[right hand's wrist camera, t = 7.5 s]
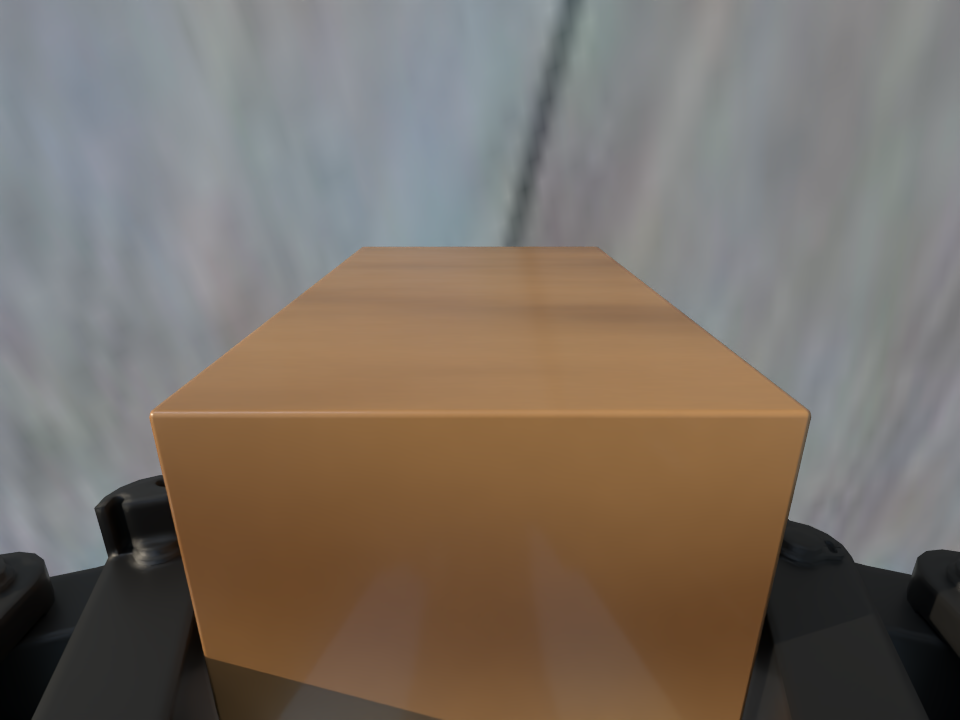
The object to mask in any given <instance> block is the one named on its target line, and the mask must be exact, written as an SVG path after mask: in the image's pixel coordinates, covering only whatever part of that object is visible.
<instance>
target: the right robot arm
mask: <svg viewBox="0 0 960 720" xmlns="http://www.w3.org/2000/svg"><path fill="white" fill-rule="evenodd" d="M95 512H96V515H97V519H98V522H99V526H100V529H101V533H102V536H103V540H104V543H105V547H106V550H107V554H108V559H107V562H106V564H105V565H104V566H100V567H97V568H92V569H87V570H82V571H77V572H73V573H68V574H63V575H58V576H53V577H49V574H48V571H47V568H46V565H45V562H44V560H43V559H42V558H41V557H39V556H38V555H36V554H35V553H25V552H15V553H8V554H1V555H0V720H219V717H218V713H217V709H216V704H215V700H214V696H213V691H212V687H211V683H210V678H209V674H208V670H207V665H206V661H205V657H204V652H203V648H202V643H201V639H200V635H199V630H198V626H197V622H196V617H195V613H194V609H193V604H192V600H191V596H190V591H189V587H188V583H187V578H186V574H185V570H184V565H183V561H182V557H181V552H180V548H179V544H178V539H177V535H176V530H175V526H174V522H173V517H172V513H171V509H170V504H169V500H168V496H167V491H166V487H165V483H164V478H163V475H159V476H154V477H150V478H146V479H141V480H138V481H135V482H133V483H130V484H128V485H125V486H123V487H120V488H119V489H117V490H115V491H114V492H112V493H111V494H109V495H107V496H106V497H104V498H103V499H102V500H101V502H100V503H99V504H98V505H97V506H96V507H95ZM742 720H960V552H956V551H949V550H932V551H926V552H924V553H923V554H922V555H920V556H919V557H918V558H917V561H916V564H915V567H914V570H913V573H912V575H910V574H905V573H900V572H895V571H890V570H885V569H880V568H875V567H870V566H866V565H862V564H858V563H854V561H853V558H852V557H851V555H850V554H849V553H848V551H847V550H846V549H845V548H844V546H843V545H842V544H841V543H839V542H838V541H836V540H835V539H834V538H832V537H831V536H829V535H828V534H826V533H824V532H822V531H820V530H818V529H815V528H813V527H811V526H809V525H805V524H801V523H797V522H793V521H789V520H787V524H786V529H785V533H784V537H783V542H782V546H781V551H780V555H779V559H778V564H777V568H776V572H775V577H774V581H773V585H772V590H771V594H770V598H769V603H768V607H767V612H766V616H765V620H764V625H763V629H762V633H761V638H760V642H759V646H758V651H757V655H756V660H755V664H754V668H753V673H752V677H751V681H750V686H749V690H748V694H747V699H746V703H745V707H744V712H743V716H742Z"/></svg>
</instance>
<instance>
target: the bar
mask: <svg viewBox="0 0 960 720" xmlns="http://www.w3.org/2000/svg"><path fill="white" fill-rule="evenodd" d="M810 420H811V413H810V411H809V410H808V409H807V408H805V407H804V406H803V405H801V404H800V403H799V402H798V401H796V400H795V399H794V398H792V397H791V396H790V395H789V394H787V393H786V392H785V391H783V390H782V389H781V388H779V387H778V386H777V385H776V384H774V383H773V382H772V381H770V380H769V379H768V378H767V377H765V376H764V375H763V374H761V373H760V372H759V371H757V370H756V369H755V368H754V367H752V366H751V365H750V364H748V363H747V362H746V361H745V360H743V359H742V358H741V357H739V356H738V355H737V354H735V353H734V352H733V351H732V350H730V349H729V348H728V347H726V346H725V345H724V344H722V343H721V342H720V341H719V340H717V339H716V338H715V337H713V336H712V335H711V334H710V333H708V332H707V331H706V330H704V329H703V328H702V327H700V326H699V325H698V324H697V323H695V322H694V321H693V320H691V319H690V318H689V317H688V316H686V315H685V314H684V313H682V312H681V311H680V310H678V309H677V308H676V307H675V306H673V305H672V304H671V303H669V302H668V301H667V300H666V299H664V298H663V297H662V296H660V295H659V294H658V293H656V292H655V291H654V290H653V289H651V288H650V287H649V286H647V285H646V284H645V283H644V282H642V281H641V280H640V279H638V278H637V277H636V276H634V275H633V274H632V273H631V272H629V271H628V270H627V269H625V268H624V267H623V266H622V265H620V264H619V263H618V262H616V261H615V260H614V259H612V258H611V257H610V256H609V255H607V254H606V253H605V252H603V251H602V250H601V249H599V248H598V247H362V248H361V249H359V250H358V251H357V252H356V253H354V254H353V255H352V256H350V257H349V258H348V259H347V260H345V261H344V262H343V263H341V264H340V265H339V266H337V267H336V268H335V269H334V270H332V271H331V272H330V273H328V274H327V275H326V276H325V277H323V278H322V279H321V280H319V281H318V282H317V283H316V284H314V285H313V286H312V287H310V288H309V289H308V290H307V291H305V292H304V293H303V294H301V295H300V296H299V297H298V298H296V299H295V300H294V301H292V302H291V303H290V304H288V305H287V306H286V307H285V308H283V309H282V310H281V311H279V312H278V313H277V314H276V315H274V316H273V317H272V318H270V319H269V320H268V321H267V322H265V323H264V324H263V325H261V326H260V327H259V328H258V329H256V330H255V331H254V332H252V333H251V334H250V335H249V336H247V337H246V338H245V339H243V340H242V341H241V342H239V343H238V344H237V345H236V346H234V347H233V348H232V349H230V350H229V351H228V352H227V353H225V354H224V355H223V356H221V357H220V358H219V359H218V360H216V361H215V362H214V363H212V364H211V365H210V366H209V367H207V368H206V369H205V370H203V371H202V372H201V373H200V374H198V375H197V376H196V377H194V378H193V379H192V380H190V381H189V382H188V383H187V384H185V385H184V386H183V387H181V388H180V389H179V390H178V391H176V392H175V393H174V394H172V395H171V396H170V397H169V398H167V399H166V400H165V401H163V402H162V403H161V404H160V405H158V406H157V407H156V408H154V409H153V410H152V411H151V413H150V422H151V426H152V431H153V435H154V439H155V444H156V448H157V452H158V457H159V461H160V465H161V470H162V474H163V478H164V483H165V487H166V491H167V496H168V500H169V504H170V509H171V513H172V517H173V522H174V526H175V530H176V535H177V539H178V544H179V548H180V552H181V557H182V561H183V565H184V570H185V574H186V578H187V583H188V587H189V591H190V596H191V600H192V604H193V609H194V613H195V617H196V622H197V626H198V630H199V635H200V639H201V643H202V648H203V652H204V657H205V661H206V665H207V670H208V674H209V678H210V683H211V687H212V691H213V696H214V700H215V704H216V709H217V713H218V717H219V720H742V716H743V712H744V707H745V703H746V699H747V694H748V690H749V686H750V681H751V677H752V673H753V668H754V664H755V660H756V655H757V651H758V646H759V642H760V638H761V633H762V629H763V625H764V620H765V616H766V612H767V607H768V603H769V598H770V594H771V590H772V585H773V581H774V577H775V572H776V568H777V564H778V559H779V555H780V551H781V546H782V542H783V537H784V533H785V529H786V524H787V520H788V516H789V511H790V507H791V503H792V498H793V494H794V490H795V485H796V481H797V476H798V472H799V468H800V463H801V459H802V455H803V450H804V446H805V442H806V437H807V433H808V429H809V424H810Z"/></svg>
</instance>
